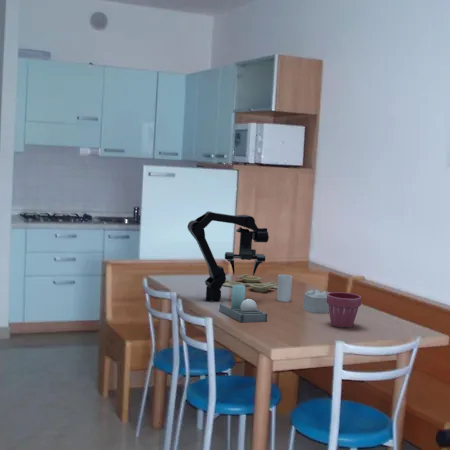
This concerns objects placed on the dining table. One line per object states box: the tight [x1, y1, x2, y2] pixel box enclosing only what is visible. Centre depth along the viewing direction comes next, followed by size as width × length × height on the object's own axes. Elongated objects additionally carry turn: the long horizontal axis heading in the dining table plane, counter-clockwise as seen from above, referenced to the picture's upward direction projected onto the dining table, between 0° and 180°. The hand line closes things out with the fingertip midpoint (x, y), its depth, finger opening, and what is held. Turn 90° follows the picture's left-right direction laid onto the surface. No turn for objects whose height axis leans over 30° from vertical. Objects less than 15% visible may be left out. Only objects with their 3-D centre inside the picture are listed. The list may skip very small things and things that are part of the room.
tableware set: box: [222, 273, 278, 293], centre depth 369 cm, size 35×29×4 cm
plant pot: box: [327, 291, 362, 328], centre depth 293 cm, size 14×14×13 cm
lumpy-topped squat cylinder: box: [303, 289, 329, 314], centre depth 320 cm, size 10×13×9 cm
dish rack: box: [219, 303, 268, 323], centre depth 298 cm, size 21×12×3 cm, turn 25°
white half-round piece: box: [240, 298, 258, 311], centre depth 297 cm, size 1×7×7 cm, turn 116°
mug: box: [276, 274, 293, 303], centre depth 338 cm, size 10×7×12 cm, turn 15°
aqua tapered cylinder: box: [230, 284, 246, 309], centre depth 302 cm, size 6×6×12 cm
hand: (243, 275), depth 330 cm, fingers open, 9 cm apart
